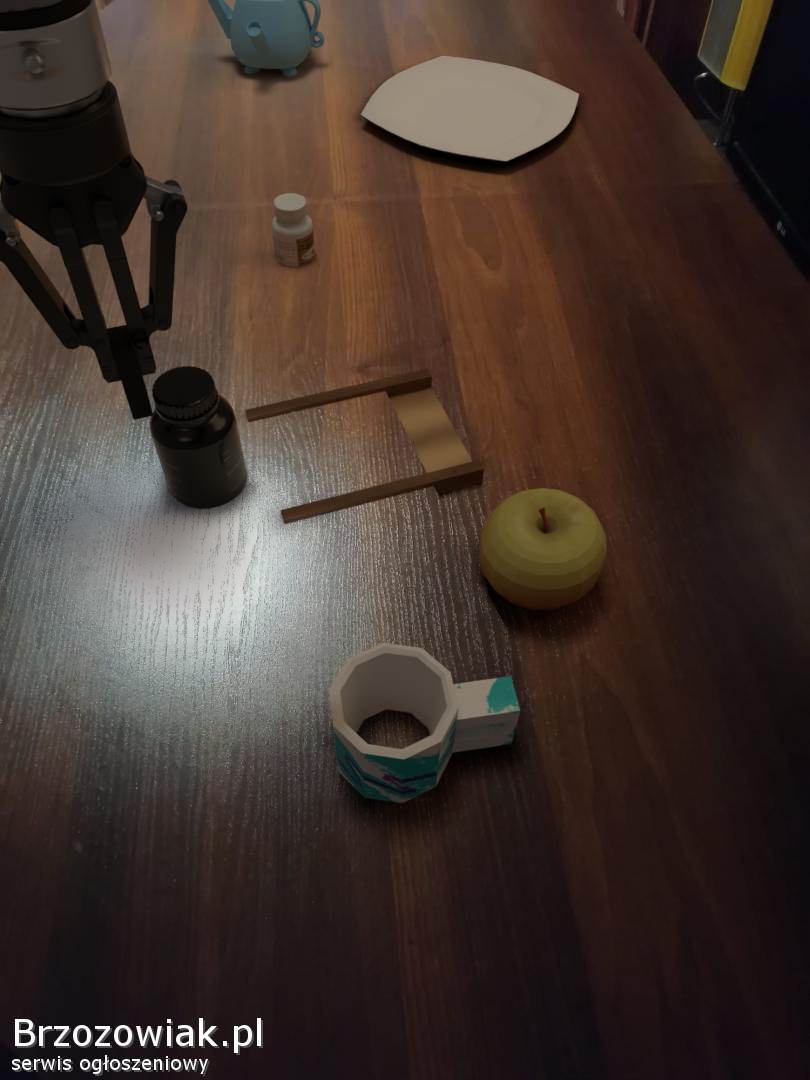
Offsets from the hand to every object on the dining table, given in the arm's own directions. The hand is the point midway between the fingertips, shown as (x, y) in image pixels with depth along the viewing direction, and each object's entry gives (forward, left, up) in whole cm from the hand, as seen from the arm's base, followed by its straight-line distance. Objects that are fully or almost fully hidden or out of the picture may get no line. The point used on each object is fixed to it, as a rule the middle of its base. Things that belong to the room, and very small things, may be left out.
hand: (140, 405), depth 66 cm
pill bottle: (-30, +20, -11) cm, 38 cm away
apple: (+18, +27, -11) cm, 34 cm away
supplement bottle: (0, +4, -11) cm, 12 cm away
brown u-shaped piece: (0, +18, -11) cm, 21 cm away
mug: (+29, +13, -11) cm, 33 cm away
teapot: (-81, +30, -11) cm, 87 cm away
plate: (-56, +52, -11) cm, 77 cm away
